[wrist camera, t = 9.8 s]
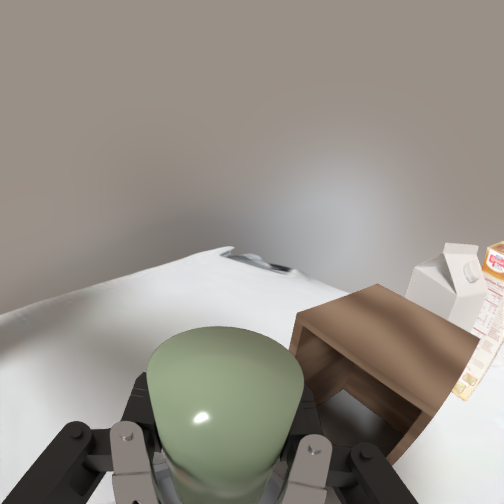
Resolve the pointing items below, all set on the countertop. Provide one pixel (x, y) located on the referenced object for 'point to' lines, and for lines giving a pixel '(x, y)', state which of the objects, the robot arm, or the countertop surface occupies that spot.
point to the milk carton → (451, 285)
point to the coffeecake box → (486, 324)
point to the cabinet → (382, 357)
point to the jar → (223, 411)
